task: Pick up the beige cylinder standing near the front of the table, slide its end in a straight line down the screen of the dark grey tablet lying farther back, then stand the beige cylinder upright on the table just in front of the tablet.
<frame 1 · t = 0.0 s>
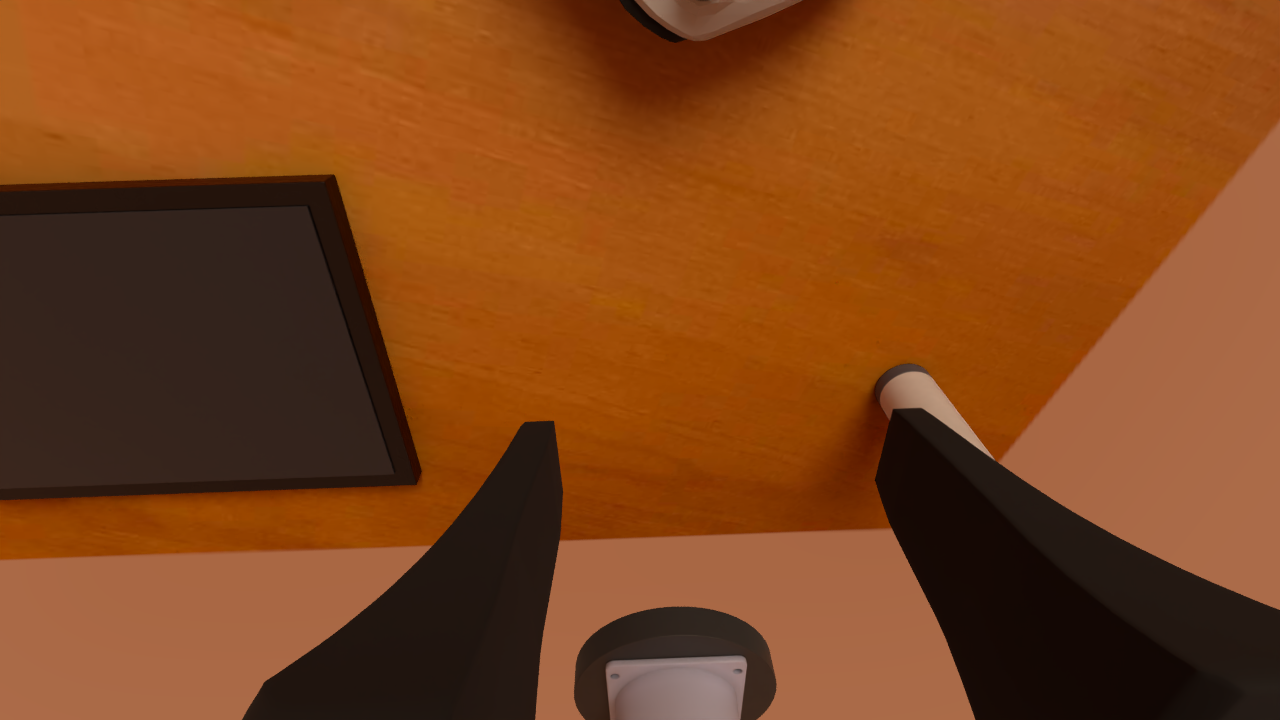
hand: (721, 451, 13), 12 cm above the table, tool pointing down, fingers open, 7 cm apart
tablet: (140, 353, 25), on the table
beige cylinder: (902, 386, 27), on the table
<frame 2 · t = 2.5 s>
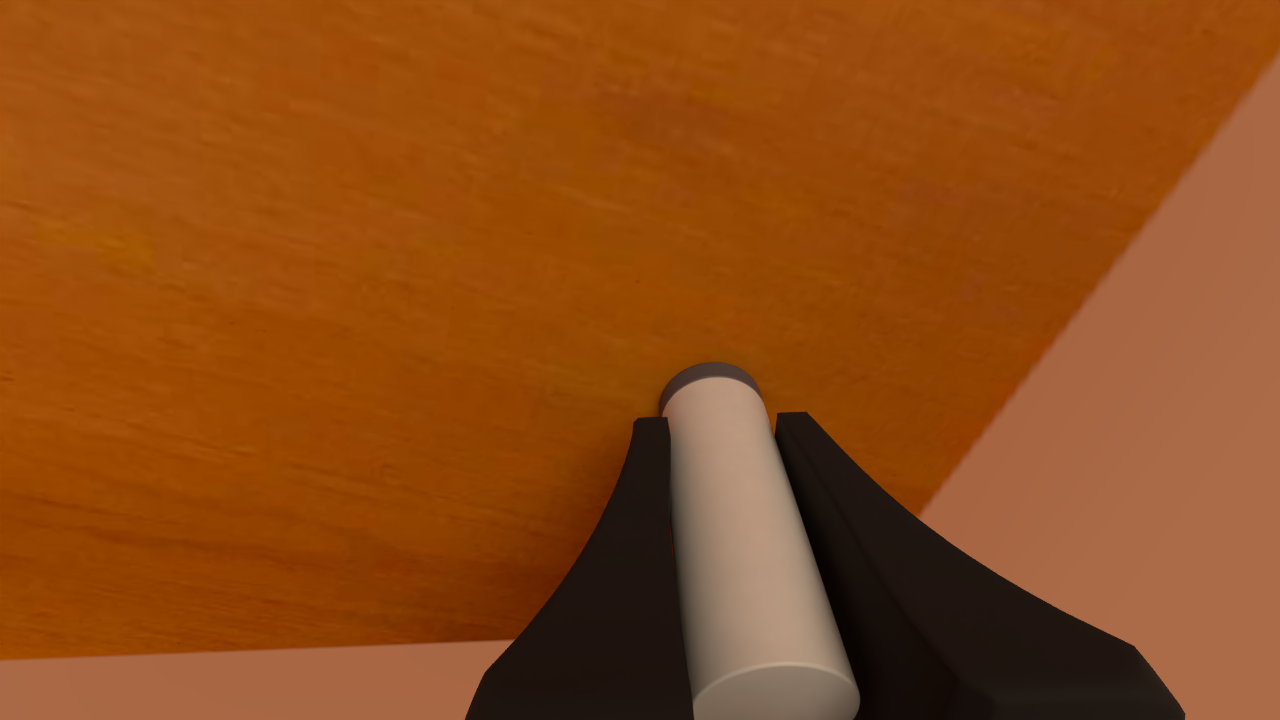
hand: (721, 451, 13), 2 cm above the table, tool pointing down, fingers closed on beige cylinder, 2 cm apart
beige cylinder: (710, 403, 15), on the table, touching gripper
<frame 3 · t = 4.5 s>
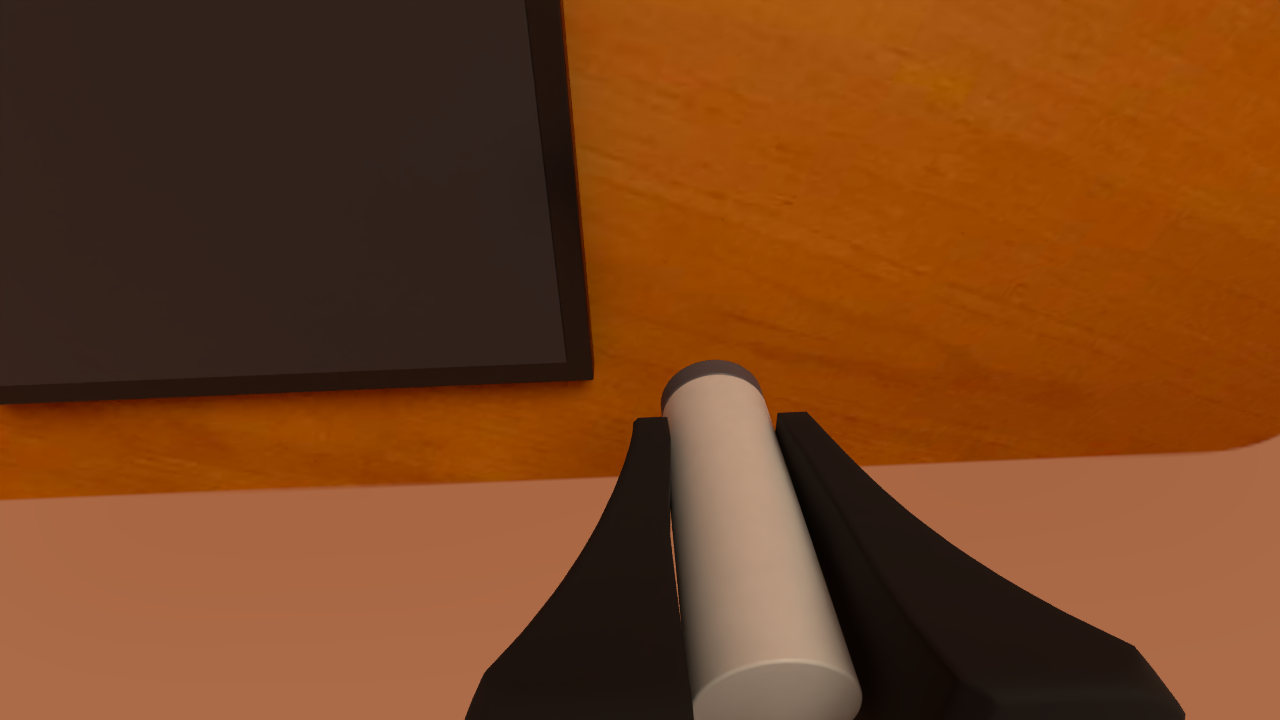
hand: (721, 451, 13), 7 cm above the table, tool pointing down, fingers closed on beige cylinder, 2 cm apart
tablet: (215, 169, 17), on the table
beige cylinder: (710, 401, 14), point 6 cm above the table, touching gripper
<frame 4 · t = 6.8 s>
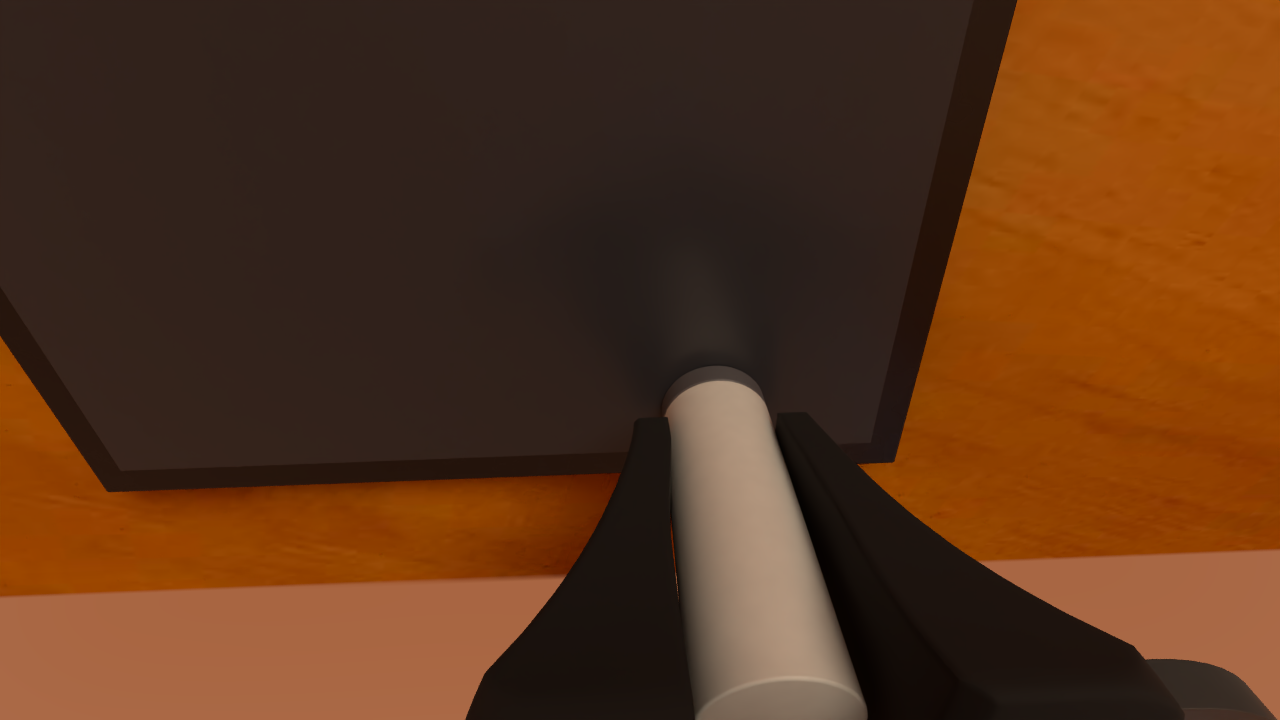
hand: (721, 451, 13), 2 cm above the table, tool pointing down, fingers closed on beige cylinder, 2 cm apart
tablet: (460, 195, 12), on the table
beige cylinder: (712, 407, 14), point 1 cm above the table, touching gripper
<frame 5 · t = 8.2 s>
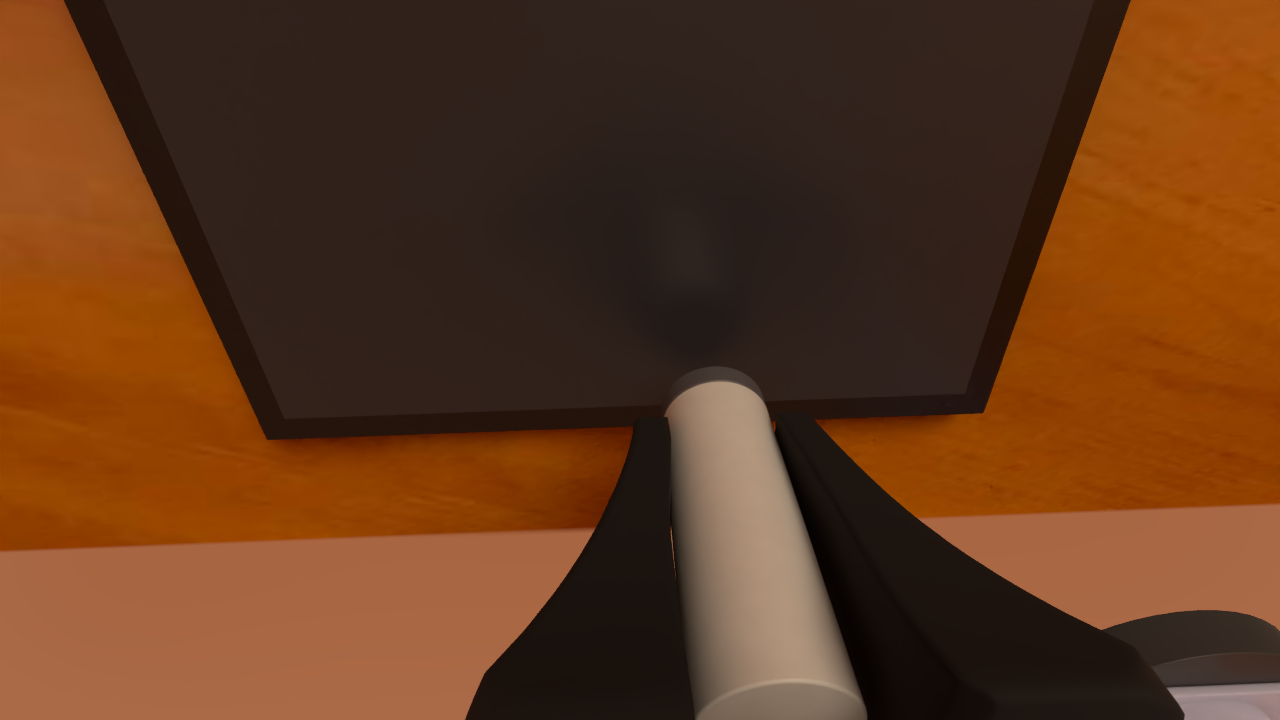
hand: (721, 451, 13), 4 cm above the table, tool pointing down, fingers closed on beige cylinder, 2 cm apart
tablet: (616, 163, 14), on the table
beige cylinder: (711, 407, 14), point 3 cm above the table, touching gripper
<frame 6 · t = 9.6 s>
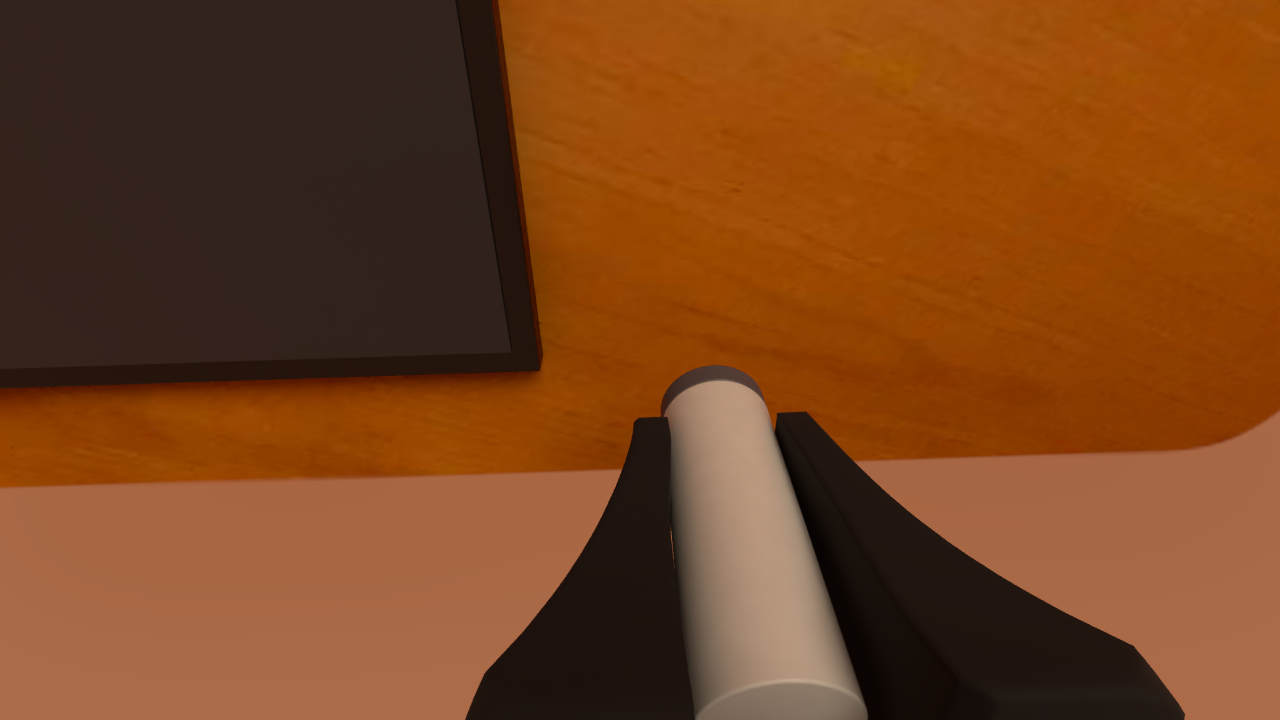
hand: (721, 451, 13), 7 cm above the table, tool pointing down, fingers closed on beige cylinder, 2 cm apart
tablet: (141, 147, 16), on the table
beige cylinder: (711, 407, 14), point 6 cm above the table, touching gripper
when the fingers open (1 cm above the table, at t = 11.3 s): beige cylinder stays where it is, on the table.
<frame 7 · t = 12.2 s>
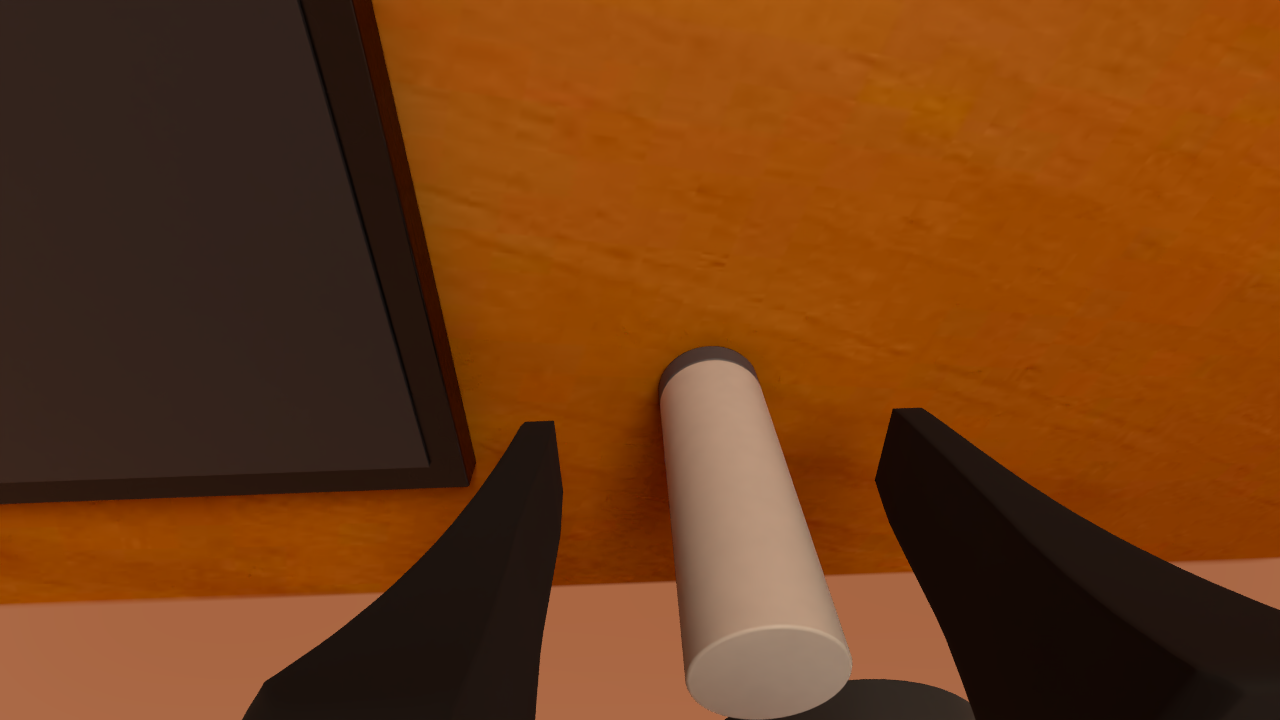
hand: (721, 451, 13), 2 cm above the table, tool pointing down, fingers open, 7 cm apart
beige cylinder: (707, 387, 15), on the table
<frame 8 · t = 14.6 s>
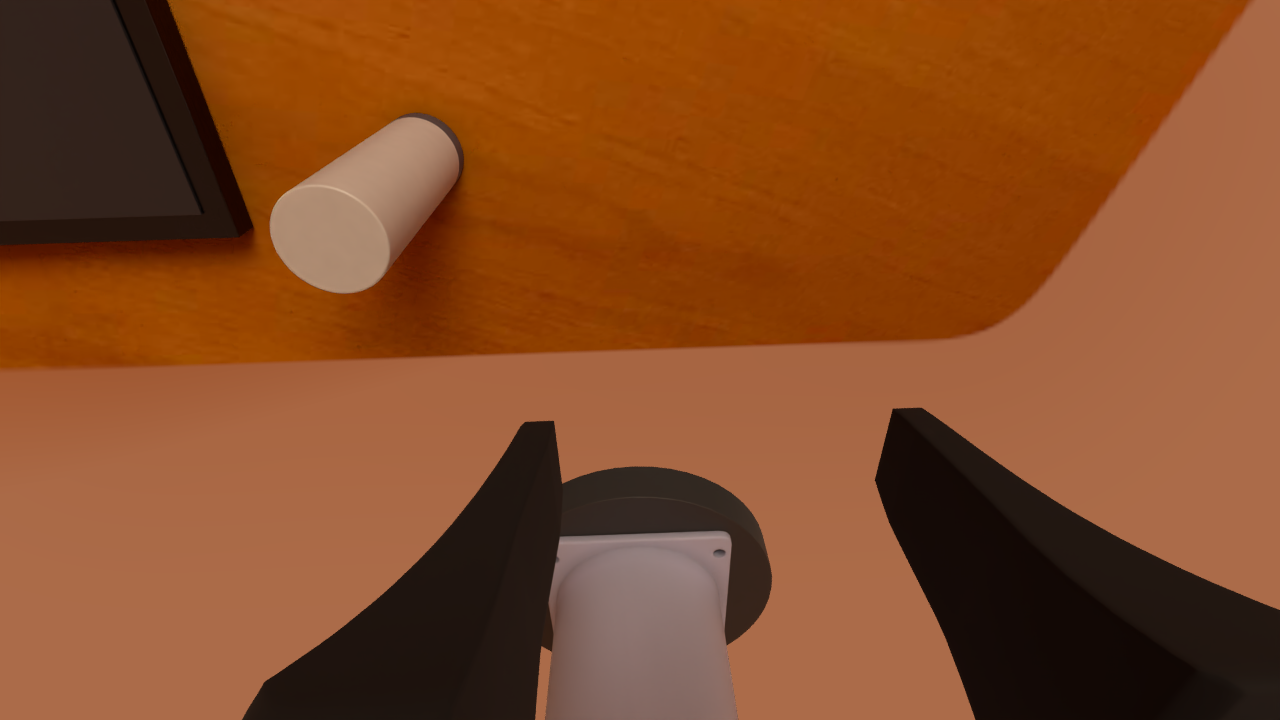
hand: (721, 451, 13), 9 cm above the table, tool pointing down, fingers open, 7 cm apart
beige cylinder: (424, 154, 19), on the table
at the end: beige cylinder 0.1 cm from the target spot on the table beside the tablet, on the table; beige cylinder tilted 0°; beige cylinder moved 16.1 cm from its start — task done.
